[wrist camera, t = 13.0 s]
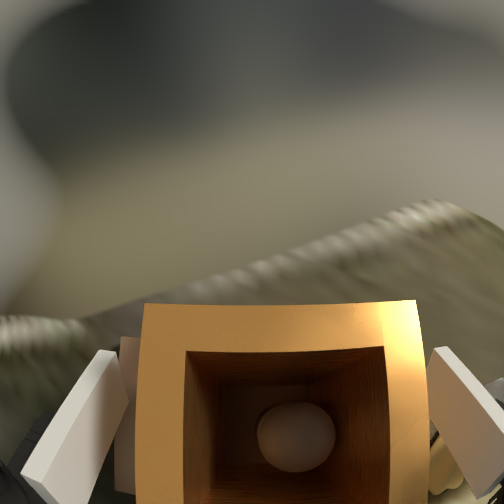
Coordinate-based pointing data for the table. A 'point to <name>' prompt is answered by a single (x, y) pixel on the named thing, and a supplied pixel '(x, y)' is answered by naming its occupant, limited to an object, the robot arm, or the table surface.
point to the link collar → (283, 374)
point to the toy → (441, 460)
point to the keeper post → (238, 425)
